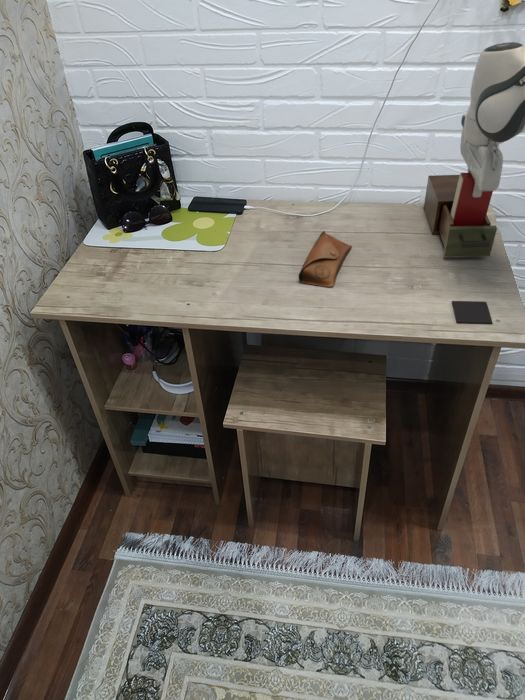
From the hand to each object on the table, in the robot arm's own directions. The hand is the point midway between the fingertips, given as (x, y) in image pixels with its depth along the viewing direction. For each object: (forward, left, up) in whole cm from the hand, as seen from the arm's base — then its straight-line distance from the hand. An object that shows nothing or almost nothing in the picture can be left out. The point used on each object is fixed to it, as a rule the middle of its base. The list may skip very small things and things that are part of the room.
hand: (473, 191), depth 127 cm
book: (0, 0, -11) cm, 11 cm away
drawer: (-1, +2, -13) cm, 13 cm away
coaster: (-10, +24, -14) cm, 29 cm away
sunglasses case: (+25, +22, -14) cm, 36 cm away
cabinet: (+6, -10, -14) cm, 19 cm away
